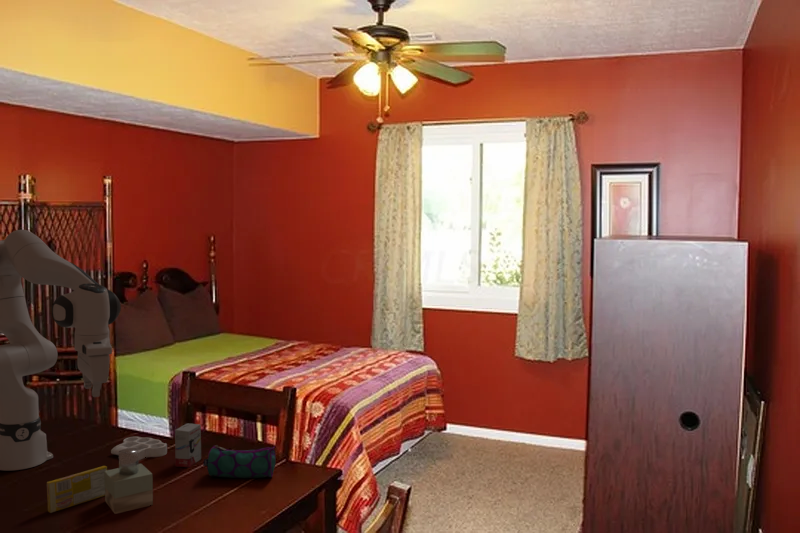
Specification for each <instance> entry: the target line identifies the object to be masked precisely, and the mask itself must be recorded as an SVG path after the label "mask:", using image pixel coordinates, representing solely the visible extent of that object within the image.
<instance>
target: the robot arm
mask: <svg viewBox="0 0 800 533" xmlns="http://www.w3.org/2000/svg"><path fill="white" fill-rule="evenodd" d="M22 278H23V279H24V280H26V281H27V282H28V283H29V282H30V283H31V284H35V285H43V286H45V285H46V286H58V287H65V288H68V289H71V290H72V291H70V292H69V293H65V294H61V295H58V296H57V297H56V298H55V300H54V301H53V303H52V306H51V317H52V320H53V321H54V322H55V324H57V325H58V326H60V327H61V328H67V329H68V328H69V329H72V328H75V330H74V351H76V352H77V359H76V360H77V363H76V364H77V369H78V371H80V372H81V373H82V380H83V388H85V389H87V390H89V389H91V388H92V389H91V396H92V397H93V398H99V397H100V396H101V390H102V389H101V388H102V386H103V384H106V383H107V382H108V379H109V372H110V363H111V362H110V359H111V358H110V355H111V354H113V346H112V344H111V340H110V333H111V332H110V327H109V325H111V324H113V323H114V322H115V321H116V320H117V319H118V317H119V315H120V313H121V309H122V306H121V301H120V299H119V298H118V296H117V295H116V294H115V293H114V292H113V291H112V290H110V289H108V288H107V287H106V286H104V285H101V284H99V283H98V282H97V281H96V280H95V279H94V278H92V277H91V276H90V275H89V274H88V273H87V272H85V270H83V269H82V268H81V267H79V266H78V265H76V264H74V263H73V262H71V261H69V260H67V259H65V258H64V257H62V256H60V255H59V254H57V253H56V252H54V251H53V250H52V249H51V248H50V247H49V246H48V245H47V244H46V243H45V241H43V240H42V239H41V238H40V237H39V236H37V235H36V234H35V233H33V232H31V231H30V230H28V229H17V230H14V231H12V232H10V233H9V234H7V235H6V237H5V238H4V239H3V240H0V333H1V334H2V335H4V336H5V337H6V339H7V340H8V342H9V343H6V344H1V345H0V471H19V470H20V471H21V470H26V469H30V468H33V467H37V466H39V465H41V464H43V463H45V462H47V461H48V460H51V459H53V458H54V454H53V453H52V452H51V451H48V442H47V433H45V432H44V431H42V430H41V427H42V426H41V424H42V421H41V417H40V416H39V414H40V413H39V412H40V411H39V410H40V409H39V395H38V393H37V392H36V391H35V390H33V389H32V388H30V387H27V386H25V385H24V381H23V377H25V376H29V375H31V376H32V375H35V374H39V373H42V372H44V371H47V370H48V369H50V368H53V367H54V366H55V364H56V362H57V360H58V357H59V356H58V349H57V347H56V345H55V344H54V343H53V342H52V341H51V340H49V339H48V338H45V337H44V336H43V335H42V334H41V333H39V332H40V331H38V330H37V328H36V327H35V326H34V324H33V322H32V320H31V317H30V313H29V309H28V305H27V300H26V297H25V296H26V295H25V292H24V288H23V285H22V284H23V283H22Z"/></svg>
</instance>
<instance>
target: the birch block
mask: <svg viewBox="0 0 800 533" xmlns="http://www.w3.org/2000/svg"><path fill="white" fill-rule="evenodd" d="M153 490H154V489H153ZM153 490H150V491H146V492H141V493H137V494H132V495H128V496H124V497H119V498H114V497H113V496H112V495H111V494H110V493H109V491H108V490H107V489H106V488H105V496H104V498H105V499H104V500H105V503H106V504H107V506H108V507H109V508H110V510H111V511H112V513H114V514H115V515H116V514H121V513H125V512H128V511H129V512H130V511H133V510H134V511H135V510H137V509H142V508H146V507H150V505H151V506H153V505H154V504H153V503H154V500H153V499H154V491H153Z"/></svg>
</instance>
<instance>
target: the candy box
mask: <svg viewBox="0 0 800 533" xmlns="http://www.w3.org/2000/svg"><path fill="white" fill-rule="evenodd" d="M107 470H108V466H106V465H102V466H99V467H95V468H92V469H88V470H85V471H81V472H77V473H75V474H74V473H73V474H70V475H66V476H65V477H60V478H56V479H54V480H49V481H47V482H46V496H47V498H46V499H47V512H48V513H50V514H52V513H55V512H57V511H62V510H64V509H68V508H71V507H74V506H77V505H80V504H83V503H86V502H89V501H92V500H97V499H99V498H102V497H105V483H104V471H107Z"/></svg>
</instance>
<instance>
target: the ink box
mask: <svg viewBox="0 0 800 533" xmlns="http://www.w3.org/2000/svg"><path fill="white" fill-rule="evenodd" d="M201 427H202V426H201V424H199V423H197V424H196V423H191V422H190V423H185V424H184V425H181V426H180V427H177V428H176V429H175V430H174V436H175V437H174V441H175V443H174V445H175V447H174V448H175V449H174V450H175V451H174V452H175V455H174V456H175V467H178V468H179V467H181V468H190V467H192V466H193V465H195V464H196V463H197V462H199V461H200V460H201V459H202V439H201V438H202V436H201V435H202V434H201V433H202V428H201Z"/></svg>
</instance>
